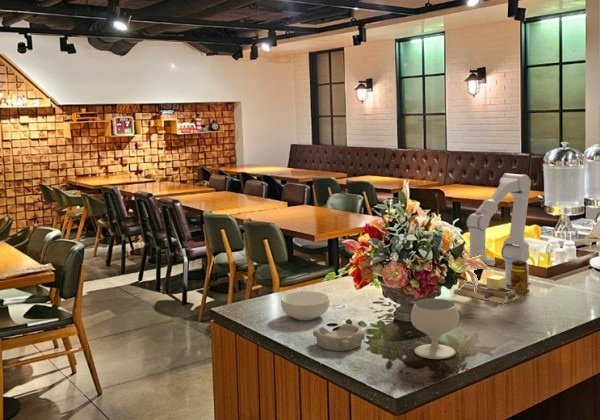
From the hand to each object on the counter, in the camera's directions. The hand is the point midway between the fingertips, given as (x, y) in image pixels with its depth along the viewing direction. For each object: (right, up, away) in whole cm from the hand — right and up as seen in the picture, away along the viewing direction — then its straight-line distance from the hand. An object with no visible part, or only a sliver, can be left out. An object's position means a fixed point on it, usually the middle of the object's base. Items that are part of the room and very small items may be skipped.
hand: (477, 280), depth 269 cm
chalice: (-28, -16, -60) cm, 68 cm away
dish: (-55, -15, -50) cm, 76 cm away
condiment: (+17, -5, +2) cm, 17 cm away
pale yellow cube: (+6, -3, -6) cm, 9 cm away
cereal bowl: (-66, -11, -22) cm, 70 cm away
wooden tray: (+3, -6, -2) cm, 7 cm away
